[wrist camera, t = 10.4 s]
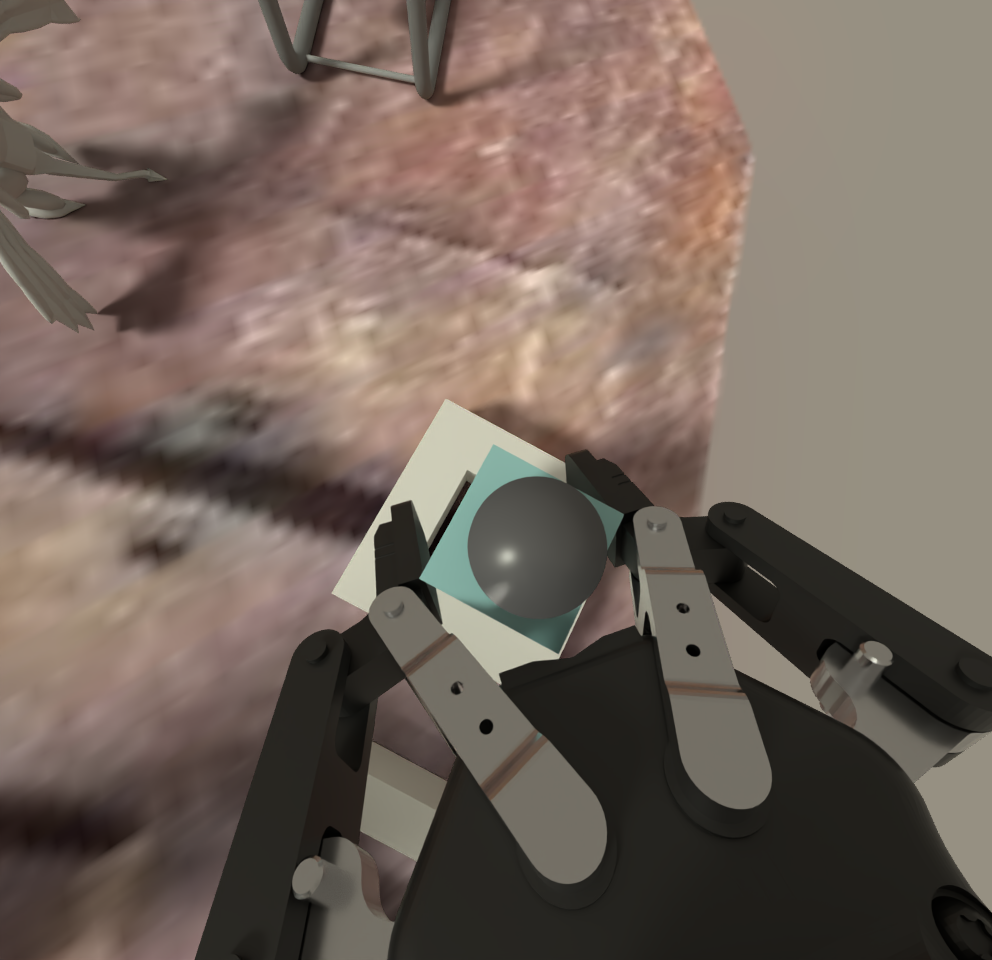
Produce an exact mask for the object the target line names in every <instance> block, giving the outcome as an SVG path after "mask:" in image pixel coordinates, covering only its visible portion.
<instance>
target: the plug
mask: <svg viewBox="0 0 992 960" xmlns="http://www.w3.org/2000/svg"><path fill="white" fill-rule="evenodd" d="M623 516H624V514H622V513H621V512H619V511H617V510H615V509H613V508H611V507H609V506H608V505H606V504H604V503H602V502H600V501H598V500H596V499H595V498H593V497H591V496H589V495H587V494H585V493H583V492H581V491H580V490H578V489H576V488H574V487H572V486H571V485H569V484H567V483H565V482H563V481H561V480H559V479H557V478H555V477H554V476H552V475H550V474H548V473H546V472H544V471H542V470H541V469H539V468H537V467H535V466H533V465H531V464H529V463H528V462H526V461H524V460H522V459H520V458H518V457H516V456H515V455H513V454H511V453H509V452H507V451H505V450H503V449H502V448H500V447H498V446H496V445H494V444H493V446H492V448H491V449H490V451H489V453H488V455H487V457H486V458H485V460H484V462H483V464H482V466H481V468H480V469H479V471H478V473H477V475H476V477H475V478H474V480H473V482H472V484H471V486H470V487H469V489H468V491H467V493H466V495H465V497H464V498H463V500H462V502H461V504H460V506H459V507H458V509H457V511H456V513H455V515H454V516H453V518H452V520H451V522H450V524H449V526H448V527H447V529H446V531H445V533H444V535H443V536H442V538H441V540H440V542H439V544H438V545H437V547H436V549H435V551H434V553H433V555H432V556H431V558H430V560H429V562H428V564H427V565H426V567H425V569H424V571H423V573H422V574H421V576H420V578H419V579H421V580H422V581H424V582H426V583H428V584H430V585H432V586H433V587H435V588H437V589H439V590H441V591H443V592H445V593H446V594H448V595H450V596H452V597H454V598H456V599H457V600H459V601H461V602H463V603H465V604H467V605H469V606H470V607H472V608H474V609H476V610H478V611H480V612H481V613H483V614H485V615H487V616H489V617H491V618H493V619H494V620H496V621H498V622H500V623H502V624H504V625H505V626H507V627H509V628H511V629H513V630H515V631H516V632H518V633H520V634H522V635H524V636H526V637H528V638H529V639H531V640H533V641H535V642H537V643H539V644H540V645H542V646H544V647H546V648H548V649H550V650H552V651H553V652H555V653H557V654H559V652H560V650H561V648H562V646H563V644H564V642H565V640H566V638H567V635H568V633H569V631H570V629H571V627H572V625H573V623H574V621H575V618H576V616H577V614H578V612H579V610H580V608H581V606H582V603H583V602H584V601H585V600H586V599H587V598H588V597H589V596H590V595H591V594H592V593H593V591H594V590H595V588H596V587H597V585H598V583H599V582H600V580H601V577H602V575H603V572H604V569H605V565H606V560H607V550H608V548H609V546H610V544H611V542H612V540H613V538H614V535H615V533H616V531H617V529H618V527H619V525H620V523H621V520H622V518H623Z"/></svg>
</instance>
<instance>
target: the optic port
mask: <svg viewBox="0 0 992 960" xmlns="http://www.w3.org/2000/svg"><path fill="white" fill-rule="evenodd" d="M493 444H494V445H496V446H498V447H500V448H502V449H503V450H505V451H507V452H509V453H511V454H513V455H515V456H516V457H518V458H520V459H522V460H524V461H526V462H528V463H529V464H531V465H533V466H535V467H537V468H539V469H541V470H542V471H544V472H546V473H548V474H550V475H552V476H554V477H555V478H557V479H559V480H561V481H563V482H565V483H567V482H566V466H565V463H564V462H563V461H561V460H559V459H557V458H555V457H553V456H551V455H550V454H548V453H546V452H544V451H542V450H540V449H538V448H537V447H535V446H533V445H531V444H529V443H527V442H525V441H524V440H522V439H520V438H518V437H516V436H514V435H512V434H511V433H509V432H507V431H505V430H503V429H501V428H499V427H498V426H496V425H494V424H492V423H490V422H488V421H486V420H485V419H483V418H481V417H479V416H477V415H475V414H473V413H472V412H470V411H468V410H466V409H464V408H462V407H461V406H459V405H457V404H455V403H453V402H451V401H449V400H448V399H445V401H444V403H443V405H442V406H441V408H440V410H439V411H438V413H437V415H436V416H435V418H434V420H433V422H432V423H431V425H430V427H429V428H428V430H427V432H426V433H425V435H424V437H423V439H422V440H421V442H420V444H419V445H418V447H417V449H416V451H415V452H414V454H413V456H412V457H411V459H410V461H409V462H408V464H407V466H406V468H405V469H404V471H403V473H402V474H401V476H400V478H399V479H398V481H397V483H396V485H395V486H394V488H393V490H392V491H391V493H390V495H389V497H388V498H387V500H386V502H385V503H384V505H383V507H382V508H381V510H380V512H379V514H378V515H377V517H376V519H375V520H374V522H373V524H372V525H371V527H370V529H369V531H368V532H367V534H366V536H365V537H364V539H363V541H362V543H361V544H360V546H359V548H358V549H357V551H356V553H355V554H354V556H353V558H352V560H351V561H350V563H349V565H348V566H347V568H346V570H345V571H344V573H343V575H342V577H341V578H340V580H339V582H338V583H337V585H336V587H335V589H334V590H333V592H332V594H334V595H335V596H337V597H339V598H341V599H343V600H345V601H347V602H349V603H350V604H352V605H354V606H356V607H358V608H360V609H362V610H363V611H365V612H367V613H369V608H370V606H371V604H372V602H373V601H374V599H375V598H376V577H375V553H374V551H375V549H374V535H375V533H376V531H377V529H378V527H379V525H380V524H383V523H386V522H390V521H392V518H391V506H392V505H395V504H399V503H402V502H406V501H409V500H412V502H413V504H414V507H415V510H416V512H417V515H418V518H419V520H420V523H421V526H422V528H423V531H424V534H425V537H426V541H427V545H428V549H429V547H430V545H431V544H432V542H433V540H434V538H435V536H436V535H437V533H438V531H439V529H440V527H441V526H442V524H443V522H444V520H445V518H446V517H447V515H448V513H449V511H450V509H451V507H452V506H453V504H454V502H455V500H456V498H457V497H458V495H459V493H460V491H461V489H462V488H463V486H464V484H465V482H466V481H468V482H469V483H471V484H472V482H473V480H474V478H475V477H476V475H477V473H478V471H479V469H480V468H481V466H482V464H483V462H484V460H485V458H486V457H487V455H488V453H489V451H490V449H491V448H492V446H493ZM436 591H437V596H438V601H439V606H440V612H441V617H442V622H443V624H442V626H443V628H444V629H445V630H446V631H447V632H448V633H449V634H451V633H453V634H454V635H455V636H456V637H457V638H458V639H459V640H460V641H461V642H462V643H463V645H464V646H465V647H466V648H467V649H468V650H469V652H470V653H471V654H472V655H473V656H474V657H475V659H476V660H477V661H478V662H479V663H480V665H481V666H482V667H483V668H484V669H485V670H486V672H487V673H488V674H489V675H490V676H491V677H492V679H493V680H494V681H495V682H497V683H499V684H501V680H500V677H499V673H501V672H504V671H507V670H510V669H513V668H515V667H518V666H521V665H524V664H527V663H530V662H532V661H542V660H553V659H559V657H560V655H561V653H562V651H563V649H564V647H565V645H566V642H567V640H568V638H569V636H570V634H571V632H572V630H573V627H574V625H575V623H576V621H577V619H578V617H579V614H580V612H581V610H582V608H583V606H584V604H585V602H586V600H585V601H584V602H583V603H582V606H581V608H580V610H579V612H578V614H577V616H576V618H575V621H574V623H573V625H572V627H571V629H570V631H569V633H568V635H567V638H566V640H565V642H564V644H563V646H562V648H561V650H560V652H559V654H557V653H555V652H553V651H552V650H550V649H548V648H546V647H544V646H542V645H540V644H539V643H537V642H535V641H533V640H531V639H529V638H528V637H526V636H524V635H522V634H520V633H518V632H516V631H515V630H513V629H511V628H509V627H507V626H505V625H504V624H502V623H500V622H498V621H496V620H494V619H493V618H491V617H489V616H487V615H485V614H483V613H481V612H480V611H478V610H476V609H474V608H472V607H470V606H469V605H467V604H465V603H463V602H461V601H459V600H457V599H456V598H454V597H452V596H450V595H448V594H446V593H445V592H443V591H441V590H439V589H437V588H436Z"/></svg>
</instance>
